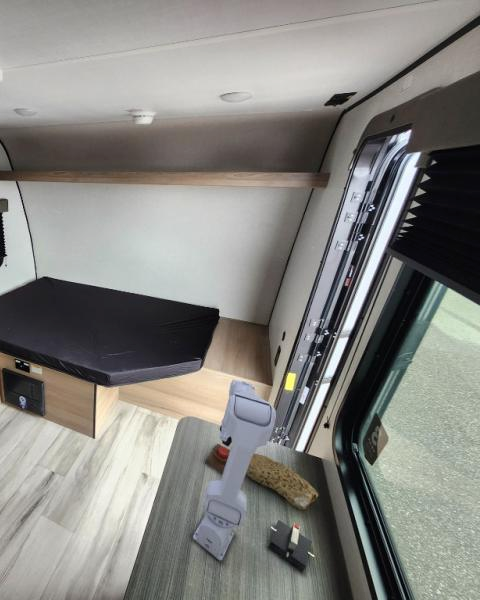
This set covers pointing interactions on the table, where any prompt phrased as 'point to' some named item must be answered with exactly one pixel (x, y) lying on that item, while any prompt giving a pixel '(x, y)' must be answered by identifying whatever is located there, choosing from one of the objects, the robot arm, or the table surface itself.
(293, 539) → the tap handle
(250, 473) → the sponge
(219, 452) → the pump button
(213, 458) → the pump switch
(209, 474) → the table surface
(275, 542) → the panel
